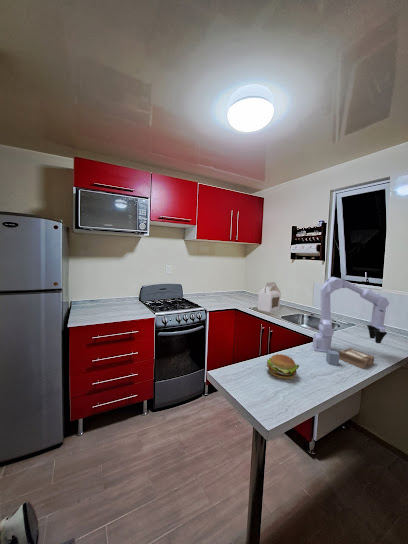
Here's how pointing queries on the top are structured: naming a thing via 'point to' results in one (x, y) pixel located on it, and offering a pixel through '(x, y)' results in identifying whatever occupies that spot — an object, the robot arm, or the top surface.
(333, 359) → the block
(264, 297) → the gable box
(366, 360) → the walnut base
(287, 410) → the top surface
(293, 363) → the food
